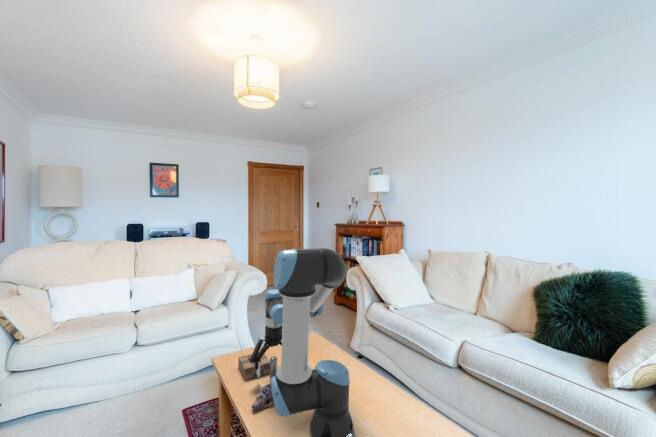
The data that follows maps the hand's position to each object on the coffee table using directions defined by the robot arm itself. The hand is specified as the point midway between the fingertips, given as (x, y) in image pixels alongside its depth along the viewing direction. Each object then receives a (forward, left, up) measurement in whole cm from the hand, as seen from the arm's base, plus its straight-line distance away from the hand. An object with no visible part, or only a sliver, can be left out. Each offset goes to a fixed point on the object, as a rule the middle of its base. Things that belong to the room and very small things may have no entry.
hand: (273, 371), depth 136 cm
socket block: (+12, +5, -4) cm, 13 cm away
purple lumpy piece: (-14, +9, -4) cm, 17 cm away
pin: (0, 0, -4) cm, 4 cm away
